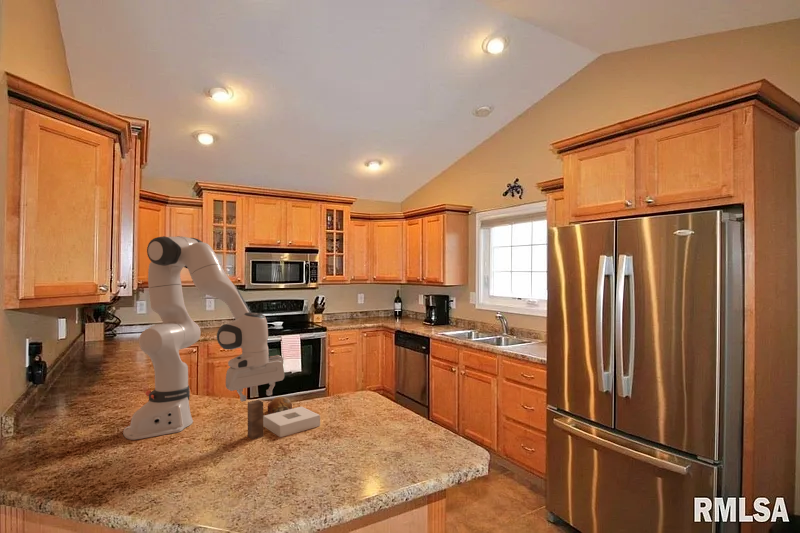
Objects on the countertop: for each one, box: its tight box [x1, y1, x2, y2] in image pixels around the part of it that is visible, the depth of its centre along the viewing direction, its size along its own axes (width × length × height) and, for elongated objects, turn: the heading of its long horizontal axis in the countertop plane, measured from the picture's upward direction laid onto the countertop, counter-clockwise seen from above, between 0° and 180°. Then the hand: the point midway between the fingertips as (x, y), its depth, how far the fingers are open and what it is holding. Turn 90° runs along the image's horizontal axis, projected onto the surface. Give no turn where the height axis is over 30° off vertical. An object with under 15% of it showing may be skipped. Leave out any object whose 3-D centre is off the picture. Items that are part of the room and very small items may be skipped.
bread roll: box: [267, 396, 293, 415], centre depth 174 cm, size 10×10×8 cm
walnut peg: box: [247, 399, 264, 440], centre depth 149 cm, size 4×4×12 cm
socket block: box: [263, 406, 321, 438], centre depth 158 cm, size 16×14×4 cm
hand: (256, 397), depth 148 cm, fingers open, 8 cm apart
